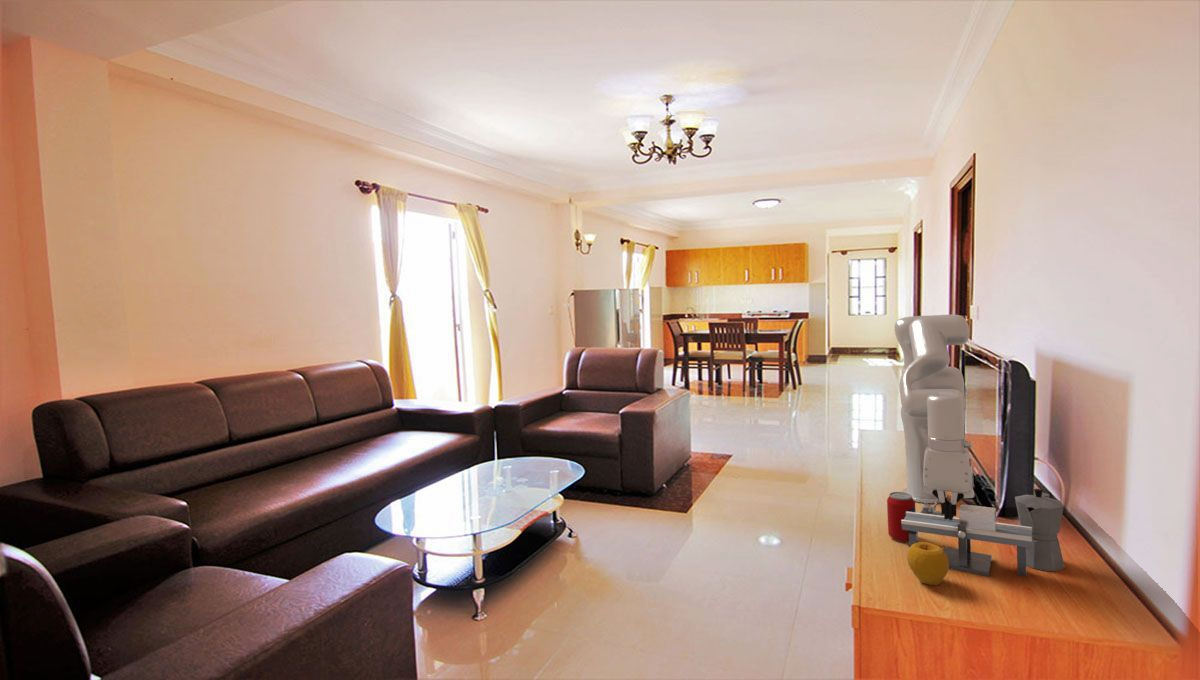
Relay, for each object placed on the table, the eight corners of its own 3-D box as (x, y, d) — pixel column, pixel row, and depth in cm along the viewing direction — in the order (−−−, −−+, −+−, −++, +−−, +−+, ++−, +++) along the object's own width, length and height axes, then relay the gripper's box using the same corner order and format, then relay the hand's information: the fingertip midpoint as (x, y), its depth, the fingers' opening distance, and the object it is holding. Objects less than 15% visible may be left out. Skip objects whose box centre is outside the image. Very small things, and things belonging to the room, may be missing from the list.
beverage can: (920, 543, 145) (918, 499, 145) (893, 543, 147) (891, 499, 146) (911, 533, 152) (909, 491, 151) (885, 532, 153) (883, 491, 152)
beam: (907, 519, 144) (906, 510, 144) (1032, 536, 128) (1031, 526, 128) (901, 529, 139) (901, 519, 139) (1032, 548, 122) (1031, 537, 122)
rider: (962, 524, 135) (960, 504, 135) (997, 528, 130) (995, 508, 130) (960, 530, 131) (958, 509, 131) (995, 535, 127) (994, 514, 127)
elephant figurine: (951, 536, 149) (916, 518, 154) (948, 544, 153) (913, 526, 159) (965, 506, 153) (930, 490, 158) (961, 515, 157) (927, 499, 162)
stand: (914, 543, 145) (912, 503, 145) (1026, 565, 131) (1025, 520, 130) (906, 560, 137) (904, 517, 136) (1026, 585, 122) (1024, 537, 121)
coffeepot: (1056, 579, 124) (1054, 501, 123) (1006, 565, 131) (1004, 491, 130) (1075, 556, 133) (1074, 484, 132) (1028, 544, 140) (1026, 476, 139)
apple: (901, 572, 131) (899, 536, 131) (939, 572, 130) (938, 536, 130) (915, 590, 123) (914, 552, 123) (956, 591, 122) (955, 552, 121)
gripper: (984, 444, 132) (987, 518, 133) (914, 438, 141) (917, 508, 142) (981, 451, 126) (984, 529, 127) (908, 444, 136) (911, 517, 136)
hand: (949, 517), depth 135 cm, fingers closed
